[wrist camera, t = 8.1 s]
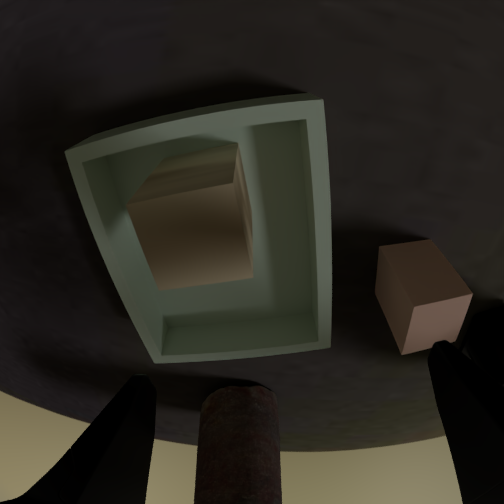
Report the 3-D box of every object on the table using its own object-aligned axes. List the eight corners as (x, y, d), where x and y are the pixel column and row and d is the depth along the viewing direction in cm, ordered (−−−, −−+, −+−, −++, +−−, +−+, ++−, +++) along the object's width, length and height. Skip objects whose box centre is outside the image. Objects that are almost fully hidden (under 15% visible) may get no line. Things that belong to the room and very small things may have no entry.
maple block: (252, 212, 18) (253, 277, 13) (182, 224, 18) (159, 290, 13) (238, 142, 16) (232, 183, 11) (163, 158, 16) (125, 205, 11)
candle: (253, 422, 32) (256, 591, 15) (191, 406, 30) (174, 589, 13) (291, 390, 29) (308, 594, 12) (220, 370, 27) (209, 600, 10)
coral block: (422, 284, 22) (455, 341, 17) (374, 292, 22) (401, 355, 17) (430, 239, 20) (473, 293, 15) (378, 246, 20) (413, 306, 15)
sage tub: (321, 311, 23) (330, 347, 20) (163, 328, 24) (154, 363, 21) (308, 92, 15) (323, 99, 12) (94, 134, 16) (64, 151, 13)
